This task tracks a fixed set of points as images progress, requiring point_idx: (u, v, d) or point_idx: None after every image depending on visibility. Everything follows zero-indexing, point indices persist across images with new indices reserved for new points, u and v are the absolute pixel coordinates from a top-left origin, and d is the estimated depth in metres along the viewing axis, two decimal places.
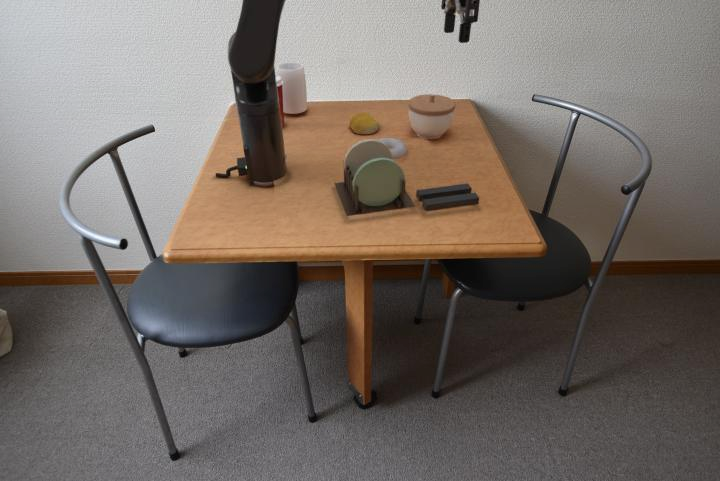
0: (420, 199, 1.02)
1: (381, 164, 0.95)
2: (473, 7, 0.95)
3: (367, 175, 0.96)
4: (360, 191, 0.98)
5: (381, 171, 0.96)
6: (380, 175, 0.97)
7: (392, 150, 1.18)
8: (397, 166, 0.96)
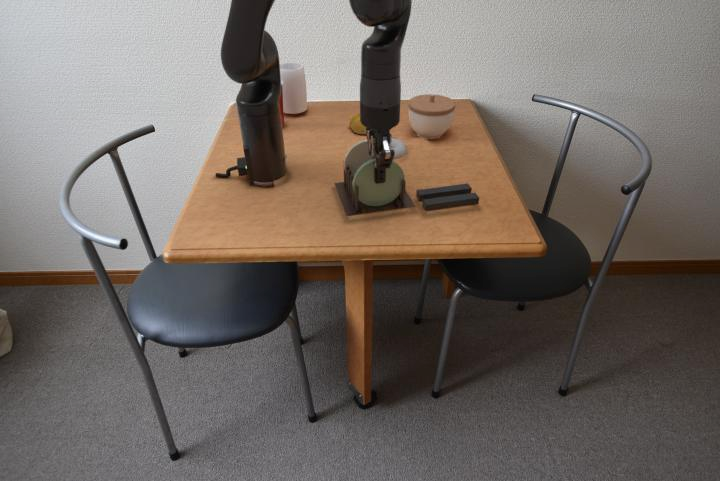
0: (420, 199, 1.02)
1: None
2: (385, 162, 0.90)
3: (367, 175, 0.96)
4: (360, 191, 0.98)
5: None
6: None
7: None
8: (397, 166, 0.96)
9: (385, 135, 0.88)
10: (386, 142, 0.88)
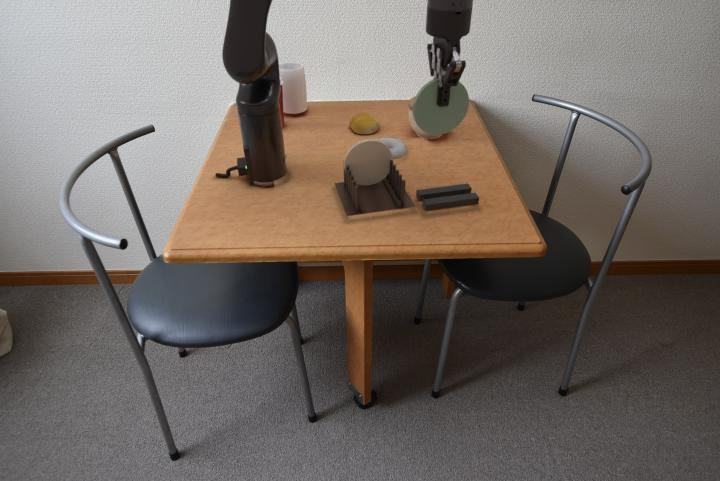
0: (420, 199, 1.02)
1: None
2: (454, 77, 0.82)
3: (429, 96, 0.88)
4: (421, 116, 0.90)
5: None
6: None
7: (392, 150, 1.18)
8: (462, 87, 0.88)
9: (455, 45, 0.80)
10: (456, 53, 0.80)
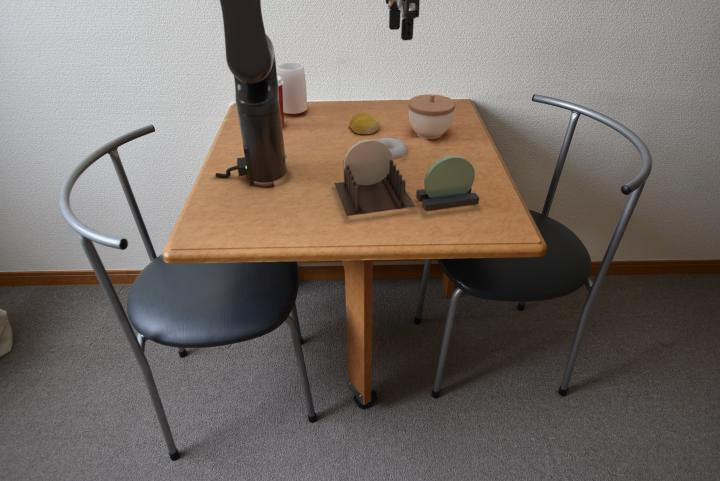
0: (420, 199, 1.02)
1: (454, 162, 0.97)
2: (413, 1, 0.86)
3: (440, 172, 0.98)
4: (431, 188, 1.00)
5: (453, 169, 0.98)
6: (452, 173, 0.99)
7: (392, 150, 1.18)
8: (469, 164, 0.98)
9: None
10: None
